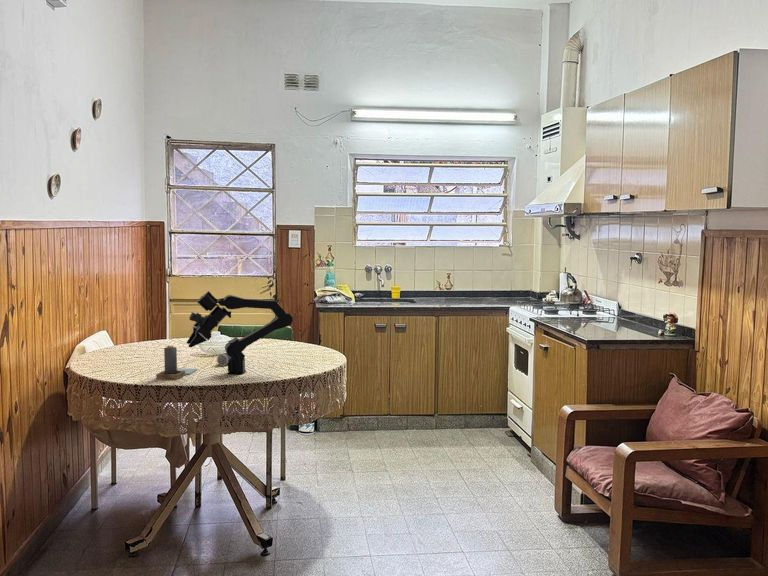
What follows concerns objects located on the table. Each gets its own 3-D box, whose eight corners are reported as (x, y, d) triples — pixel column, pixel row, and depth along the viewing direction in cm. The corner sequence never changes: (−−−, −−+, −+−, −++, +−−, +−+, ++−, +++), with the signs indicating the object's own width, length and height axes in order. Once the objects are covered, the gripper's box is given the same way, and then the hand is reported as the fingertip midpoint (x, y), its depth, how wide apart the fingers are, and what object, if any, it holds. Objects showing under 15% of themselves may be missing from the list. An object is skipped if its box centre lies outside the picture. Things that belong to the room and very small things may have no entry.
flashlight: (233, 359, 341) (233, 348, 340) (243, 360, 339) (243, 349, 339) (217, 365, 326) (217, 353, 326) (227, 366, 325) (227, 354, 324)
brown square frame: (185, 375, 304) (185, 370, 304) (177, 379, 295) (177, 375, 295) (165, 374, 305) (164, 370, 305) (156, 379, 296) (156, 374, 296)
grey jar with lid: (178, 376, 302) (178, 344, 301) (174, 378, 297) (173, 346, 296) (167, 375, 303) (167, 344, 302) (162, 378, 298) (162, 346, 297)
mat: (197, 370, 314) (197, 368, 314) (189, 375, 305) (189, 373, 305) (175, 369, 315) (175, 368, 315) (166, 374, 306) (166, 373, 306)
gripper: (198, 303, 311) (172, 329, 308) (202, 308, 293) (175, 335, 290) (216, 320, 314) (191, 346, 311) (222, 326, 297) (195, 353, 294)
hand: (188, 345), depth 302 cm, fingers open, 9 cm apart
